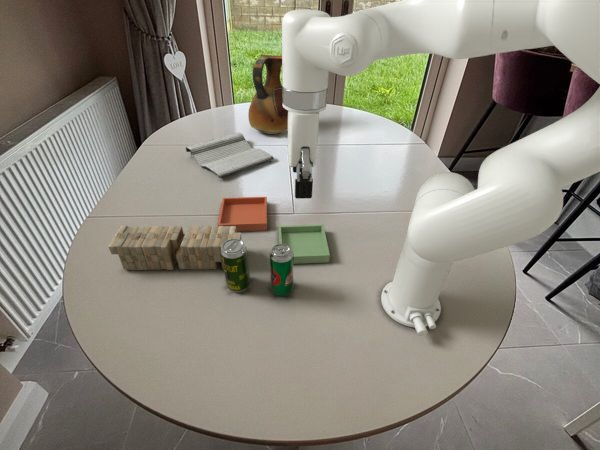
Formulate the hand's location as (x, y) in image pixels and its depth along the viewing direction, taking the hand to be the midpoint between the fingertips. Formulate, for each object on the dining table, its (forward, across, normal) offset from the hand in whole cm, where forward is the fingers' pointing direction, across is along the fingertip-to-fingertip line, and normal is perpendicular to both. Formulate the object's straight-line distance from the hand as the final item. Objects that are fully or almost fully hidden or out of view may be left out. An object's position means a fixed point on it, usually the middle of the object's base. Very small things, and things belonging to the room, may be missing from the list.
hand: (301, 184), depth 67 cm
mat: (+24, -57, -23) cm, 66 cm away
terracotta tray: (+24, -21, -15) cm, 35 cm away
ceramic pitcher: (+24, -85, -7) cm, 89 cm away
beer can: (+24, +5, -14) cm, 28 cm away
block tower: (+24, -4, -28) cm, 38 cm away
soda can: (+24, +7, -4) cm, 25 cm away
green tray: (+24, -7, +1) cm, 25 cm away
